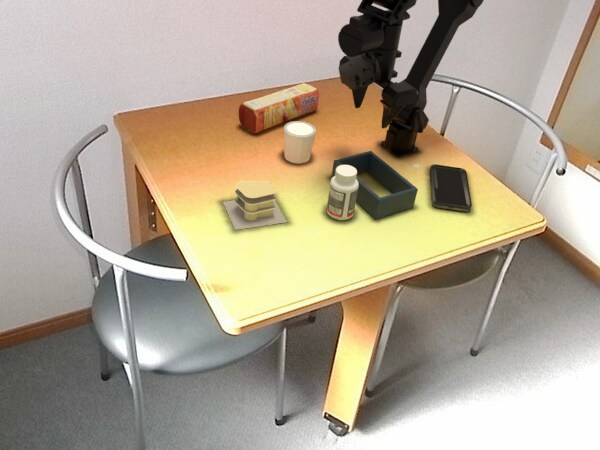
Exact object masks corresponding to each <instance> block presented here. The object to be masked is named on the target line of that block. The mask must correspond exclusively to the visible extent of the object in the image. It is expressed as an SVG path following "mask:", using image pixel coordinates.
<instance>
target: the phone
mask: <svg viewBox="0 0 600 450" xmlns="http://www.w3.org/2000/svg"><path fill="white" fill-rule="evenodd" d="M429 176H430V177H429V180H430V181H429V182H430V195H431V205H432V206H433V207H435V208H436V209H443V210H448V211H449V210H450V211H457V212H464V213H468V212H471V211H472V210H471V209H472V206H473V203H472V197H471V191H470V186H469V180H468V178H469V177H468V172H467V170H466V169H465V168H462V167H457V166H449V165H443V164H436V163H435V164H433V163H432V164H431V165H430V168H429Z"/></svg>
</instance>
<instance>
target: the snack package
mask: <svg viewBox="0 0 600 450" xmlns="http://www.w3.org/2000/svg"><path fill="white" fill-rule="evenodd" d="M319 102H320V92H319V90H318V89H317V88H316V87H315V86H313V85H311V84H308V83H305V82H302V83H300V84H297V85H294V86H291V87H289V88H285V89H282V90H279V91H276V92H272V93H269V94H267V95H264V96H261V97H257V98H254V99H251V100H247V101H243V102H241V103H240V104H239V107H238V121H239V122H240V125H241V126H242V127H243V129H245V130H246V131H248V132H250V133H253V134H258V133H260V132H261V131H264V130H267V129H269V128H272V127H275V126H278V125H280V124H283V123H285V122H288V121H290V120H293V119H296V118H298V117H302V116H304V115H307V114H309V113H313V112H315V111H317V109H318V108H319Z"/></svg>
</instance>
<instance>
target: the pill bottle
mask: <svg viewBox="0 0 600 450" xmlns="http://www.w3.org/2000/svg"><path fill="white" fill-rule="evenodd" d="M357 175H358V174H357V170H356V169H355V168H354V167H353V166H350V165H340V166H338V167H337V168H336V172H335V176H334V177H333V178H330V182H329V187H328V189H329V190H328V197H327V203H326V213H327V215H328V216H329V217H331V218H332V219H334V220H339V221H345V220H350V219H351V218H352V217H353V216H354V213H355V209H356V204H357V202H356V198H357V192H358V187H359V183H358V181H357V179H356V178H358V177H357Z"/></svg>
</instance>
